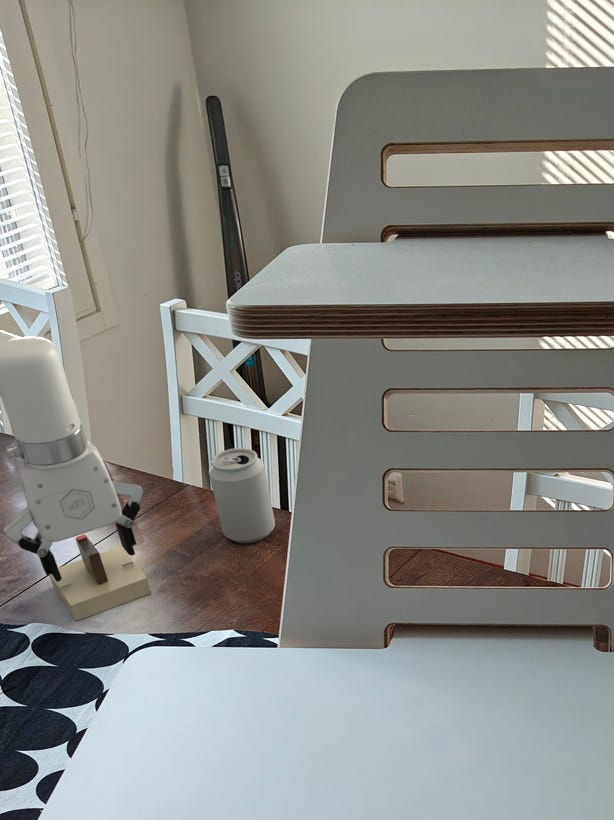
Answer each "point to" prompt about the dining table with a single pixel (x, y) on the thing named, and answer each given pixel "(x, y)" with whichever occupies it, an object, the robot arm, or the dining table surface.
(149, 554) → the dining table surface
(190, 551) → the dining table surface
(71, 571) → the plate
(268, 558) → the dining table surface
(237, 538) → the can
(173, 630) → the dining table surface
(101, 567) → the thumbturn
